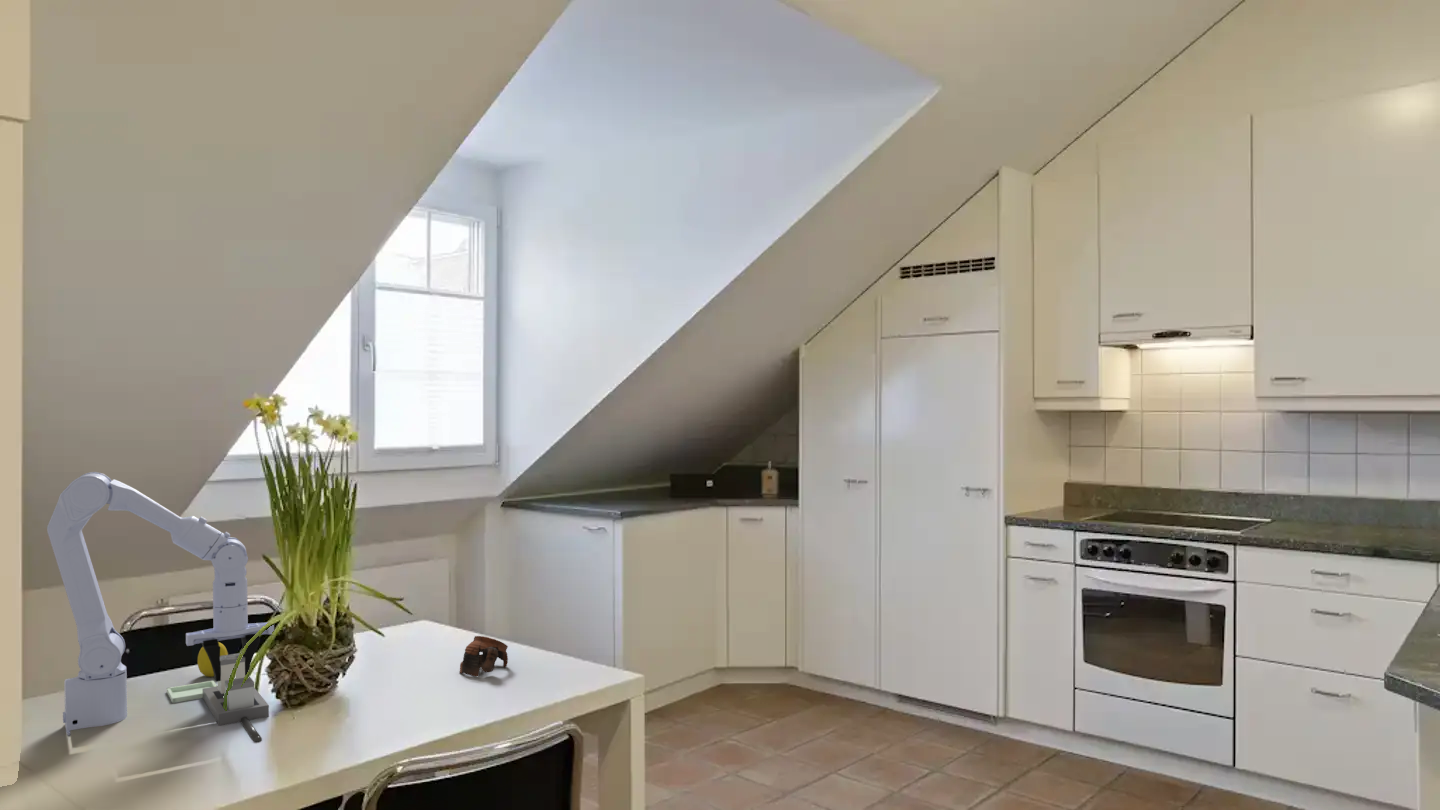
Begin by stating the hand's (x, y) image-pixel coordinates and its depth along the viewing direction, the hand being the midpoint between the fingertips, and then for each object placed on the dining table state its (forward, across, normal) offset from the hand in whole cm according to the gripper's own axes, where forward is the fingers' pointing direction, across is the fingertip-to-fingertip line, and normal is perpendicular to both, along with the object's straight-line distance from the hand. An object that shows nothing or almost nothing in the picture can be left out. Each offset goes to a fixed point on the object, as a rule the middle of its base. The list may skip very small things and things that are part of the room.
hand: (231, 677), depth 180 cm
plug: (+2, 0, 0) cm, 2 cm away
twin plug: (+5, 0, +8) cm, 9 cm away
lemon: (+6, 0, -21) cm, 22 cm away
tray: (+5, +5, -10) cm, 12 cm away
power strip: (+5, 0, +9) cm, 11 cm away
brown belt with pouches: (+6, -46, +7) cm, 47 cm away
